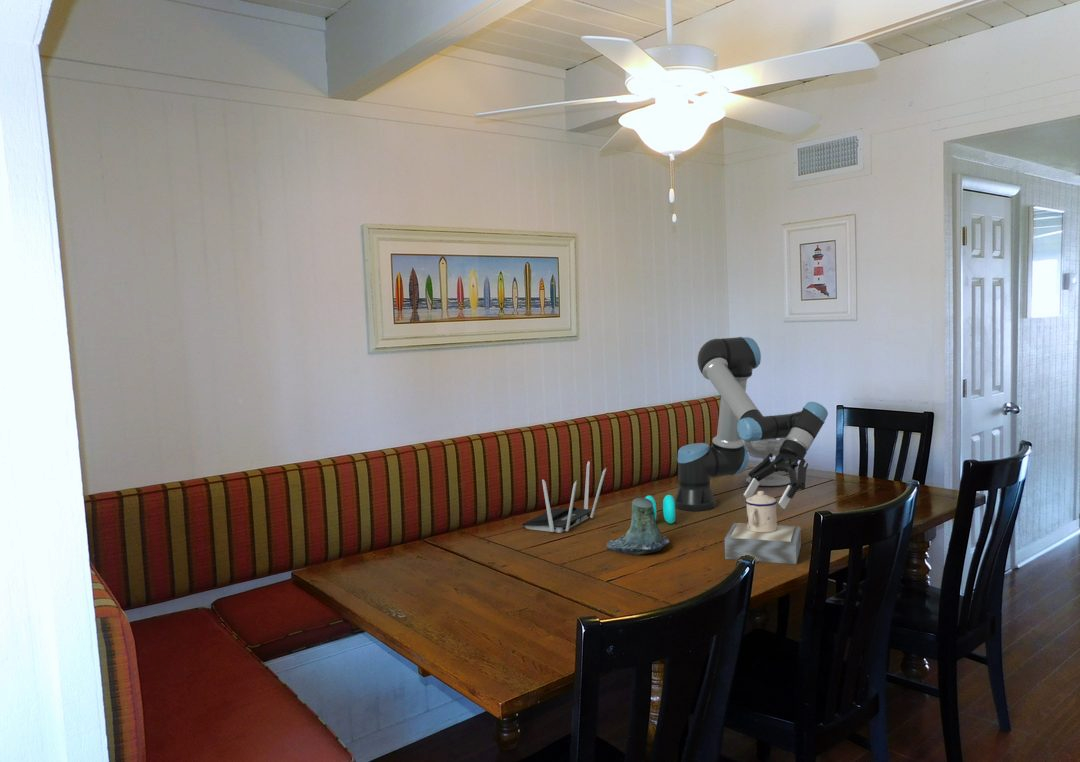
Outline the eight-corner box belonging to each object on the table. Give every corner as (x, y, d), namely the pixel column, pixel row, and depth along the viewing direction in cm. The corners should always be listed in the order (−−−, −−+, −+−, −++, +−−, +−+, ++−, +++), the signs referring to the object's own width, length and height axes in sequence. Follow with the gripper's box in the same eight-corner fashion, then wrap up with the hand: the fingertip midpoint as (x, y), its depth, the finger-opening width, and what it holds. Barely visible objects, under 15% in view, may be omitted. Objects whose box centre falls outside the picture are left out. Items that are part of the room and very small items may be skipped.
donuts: (676, 526, 261) (675, 498, 260) (647, 527, 261) (646, 499, 261) (673, 519, 271) (672, 491, 270) (644, 520, 271) (643, 492, 271)
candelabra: (830, 486, 309) (828, 420, 307) (753, 495, 300) (751, 427, 298) (782, 471, 342) (780, 411, 340) (712, 479, 333) (710, 417, 331)
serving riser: (725, 558, 224) (724, 537, 223) (734, 541, 240) (733, 521, 240) (796, 564, 216) (795, 541, 216) (800, 545, 233) (800, 525, 232)
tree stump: (650, 536, 253) (656, 484, 248) (679, 569, 234) (687, 514, 229) (596, 540, 247) (602, 488, 242) (622, 575, 228) (628, 518, 223)
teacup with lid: (754, 523, 236) (752, 486, 235) (782, 527, 230) (781, 489, 230) (737, 533, 227) (735, 494, 226) (766, 537, 221) (765, 498, 220)
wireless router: (561, 511, 290) (558, 459, 289) (615, 516, 278) (613, 462, 277) (512, 534, 262) (509, 477, 260) (571, 541, 250) (568, 481, 248)
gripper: (836, 458, 226) (803, 516, 220) (770, 448, 247) (739, 501, 241) (823, 443, 223) (790, 502, 216) (758, 434, 244) (726, 487, 238)
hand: (763, 501), depth 229 cm, fingers open, 13 cm apart
